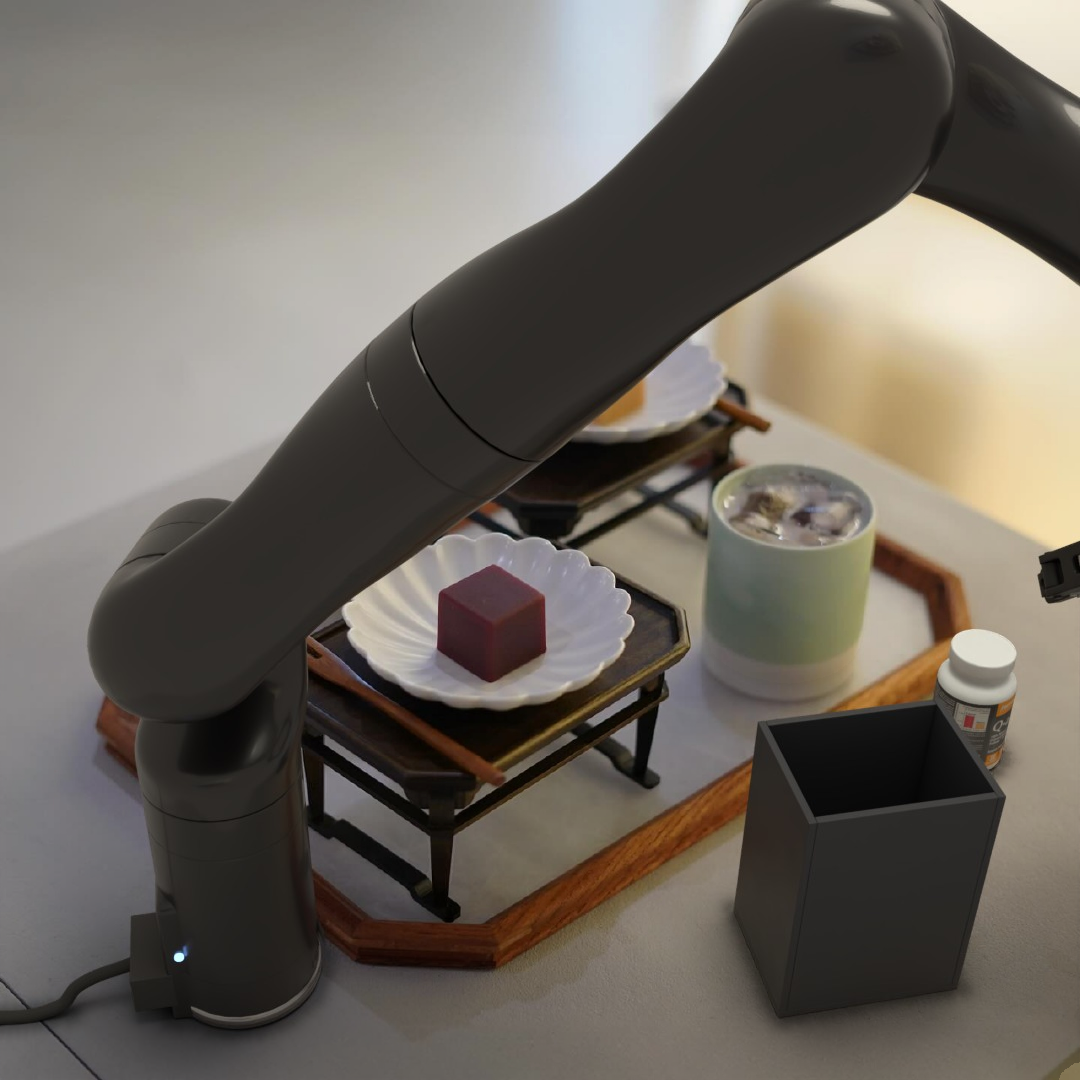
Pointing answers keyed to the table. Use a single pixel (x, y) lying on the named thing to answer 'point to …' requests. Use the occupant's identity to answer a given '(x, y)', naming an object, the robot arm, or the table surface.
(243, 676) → the robot arm
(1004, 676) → the pill bottle
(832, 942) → the waste bin
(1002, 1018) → the table surface
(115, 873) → the table surface
